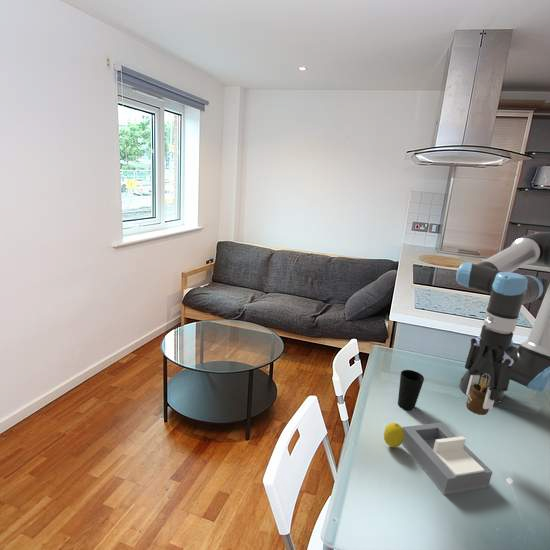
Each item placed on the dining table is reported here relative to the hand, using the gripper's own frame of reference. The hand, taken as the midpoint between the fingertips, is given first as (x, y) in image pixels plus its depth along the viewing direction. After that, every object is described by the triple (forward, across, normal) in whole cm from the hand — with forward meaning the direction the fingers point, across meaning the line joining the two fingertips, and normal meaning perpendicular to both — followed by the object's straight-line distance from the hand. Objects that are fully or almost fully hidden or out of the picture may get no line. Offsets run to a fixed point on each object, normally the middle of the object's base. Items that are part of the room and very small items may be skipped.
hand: (478, 400), depth 111 cm
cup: (+16, -22, -7) cm, 28 cm away
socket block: (+16, +4, -13) cm, 21 cm away
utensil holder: (+3, 0, 0) cm, 3 cm away
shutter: (+11, +9, -13) cm, 19 cm away
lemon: (+16, -4, -24) cm, 29 cm away
